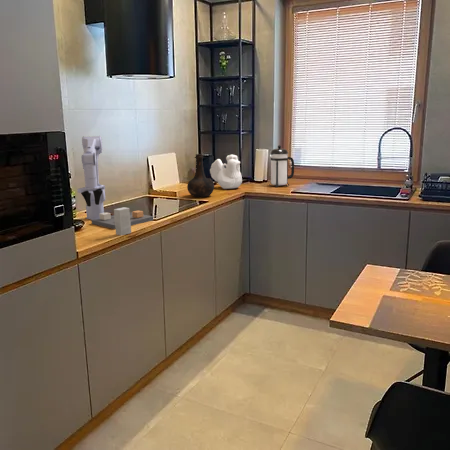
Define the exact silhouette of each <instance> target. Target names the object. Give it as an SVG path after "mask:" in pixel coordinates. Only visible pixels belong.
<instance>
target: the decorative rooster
mask: <svg viewBox="0 0 450 450" xmlns="http://www.w3.org/2000/svg"><path fill="white" fill-rule="evenodd" d="M238 158H239V157H238V155H236V154H229V155H227V156H226V157H225V159H226V162H227V163H223V162H222V160H221V159H220V158H217V159H216V160H214V162H213V163H211V166H210V169H209V174H210V176H211V178H212V179H213V180H214V181H215V182H217V183H218V185H219V186H220V187H221V188H222V189H224V190H227V189H229V190H230V189H237V188H239V187H240V186H241V185H242V183H243V178H242V172H241V167H240V166H241V165H240V164H241V161H240V160H239V159H238Z"/></svg>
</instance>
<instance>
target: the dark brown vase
mask: <svg viewBox="0 0 450 450" xmlns="http://www.w3.org/2000/svg"><path fill="white" fill-rule="evenodd" d="M204 157H205V156H203V154H202V153H196V154H195V157H194V159H195V170H194V171H195V172H194V176H193V177H192V179H190V180H189V181H188V183H187V186H186V187H187V191H188V193H189V195H191V196H192V197H194V198H207V197H209V196H211V195H212V194H213V192H214V189H215V184H214V181H213V180H212V179H211V178H210V177H209V178H207V177H206V174H205V171H204V170H205V168H204V162H203V161H204V160H203V158H204Z"/></svg>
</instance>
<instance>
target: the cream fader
mask: <svg viewBox="0 0 450 450" xmlns="http://www.w3.org/2000/svg"><path fill="white" fill-rule="evenodd" d="M111 214H112V213H110V212H105V211H104V213H100V214H99V216H100V219H102V220H107V219H111V216H112V215H111Z"/></svg>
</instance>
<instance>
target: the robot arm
mask: <svg viewBox="0 0 450 450" xmlns="http://www.w3.org/2000/svg"><path fill="white" fill-rule="evenodd" d="M102 140H103V139H102V136H101V135H97V136H96V135H95V136H94V135H93V136H89V135H88V136H82V137H81V143H82V144H81V145H82V148H83V154H81V165H82V169H83V176H84V185H85V186H84V187H80V188H76V189H77V194H81V195H82V197H83V199H84V201H85V203H86V204H85V210H86V217H85V219H87V220H90V221H91V220H94V219H98V218H100V216H99V214H100V213H105V208H104V202H105V201H106V185H105V184H101V183H100V176H99V155H100V154H102V153H103V141H102Z"/></svg>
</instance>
